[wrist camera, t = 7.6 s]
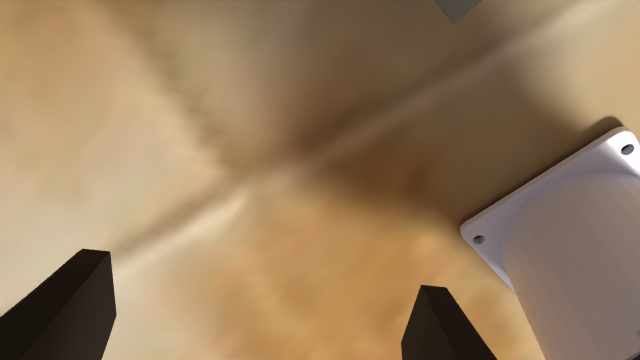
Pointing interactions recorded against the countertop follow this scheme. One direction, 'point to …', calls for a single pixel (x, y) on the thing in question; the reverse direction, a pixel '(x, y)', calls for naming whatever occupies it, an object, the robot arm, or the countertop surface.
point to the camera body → (456, 7)
